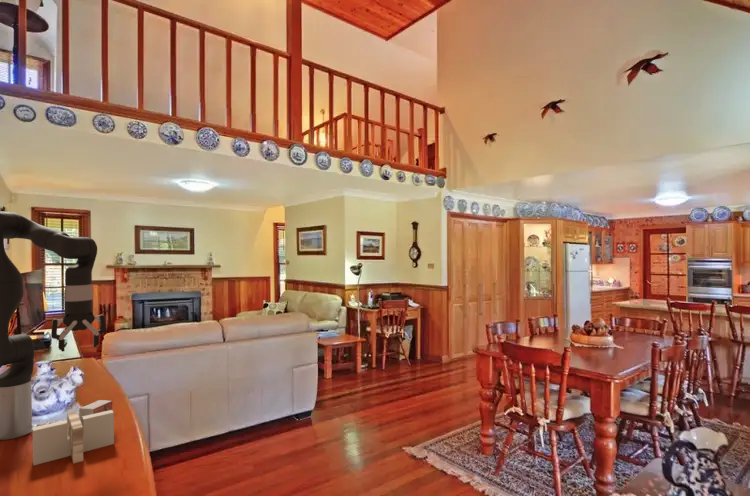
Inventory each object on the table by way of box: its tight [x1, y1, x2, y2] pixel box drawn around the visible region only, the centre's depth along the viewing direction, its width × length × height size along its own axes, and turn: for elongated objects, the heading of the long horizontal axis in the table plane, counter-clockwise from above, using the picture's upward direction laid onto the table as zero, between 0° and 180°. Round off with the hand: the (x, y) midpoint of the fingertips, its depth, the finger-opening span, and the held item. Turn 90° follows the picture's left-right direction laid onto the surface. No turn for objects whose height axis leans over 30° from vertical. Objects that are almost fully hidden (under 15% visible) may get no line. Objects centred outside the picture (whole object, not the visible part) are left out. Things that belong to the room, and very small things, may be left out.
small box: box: [78, 399, 113, 423], centre depth 141 cm, size 8×6×10 cm
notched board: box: [32, 409, 115, 466], centre depth 130 cm, size 20×3×10 cm, turn 131°
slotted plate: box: [66, 410, 84, 464], centre depth 130 cm, size 16×2×10 cm, turn 41°
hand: (79, 348), depth 137 cm, fingers open, 8 cm apart
